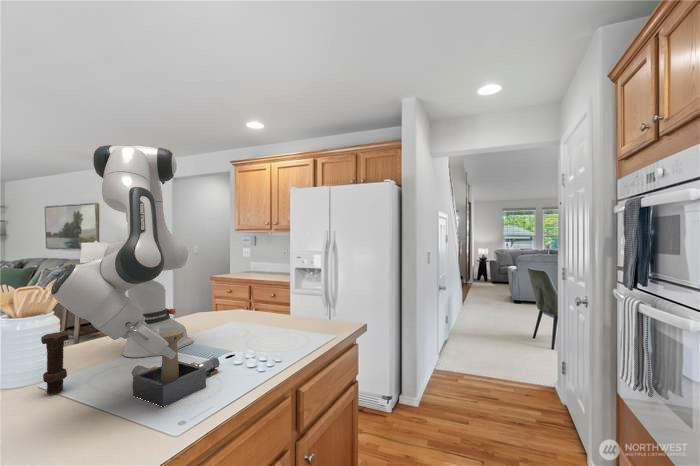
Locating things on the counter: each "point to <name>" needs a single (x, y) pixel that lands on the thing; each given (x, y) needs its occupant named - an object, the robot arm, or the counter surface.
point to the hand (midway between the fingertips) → (168, 351)
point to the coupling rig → (172, 382)
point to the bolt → (54, 361)
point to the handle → (169, 365)
